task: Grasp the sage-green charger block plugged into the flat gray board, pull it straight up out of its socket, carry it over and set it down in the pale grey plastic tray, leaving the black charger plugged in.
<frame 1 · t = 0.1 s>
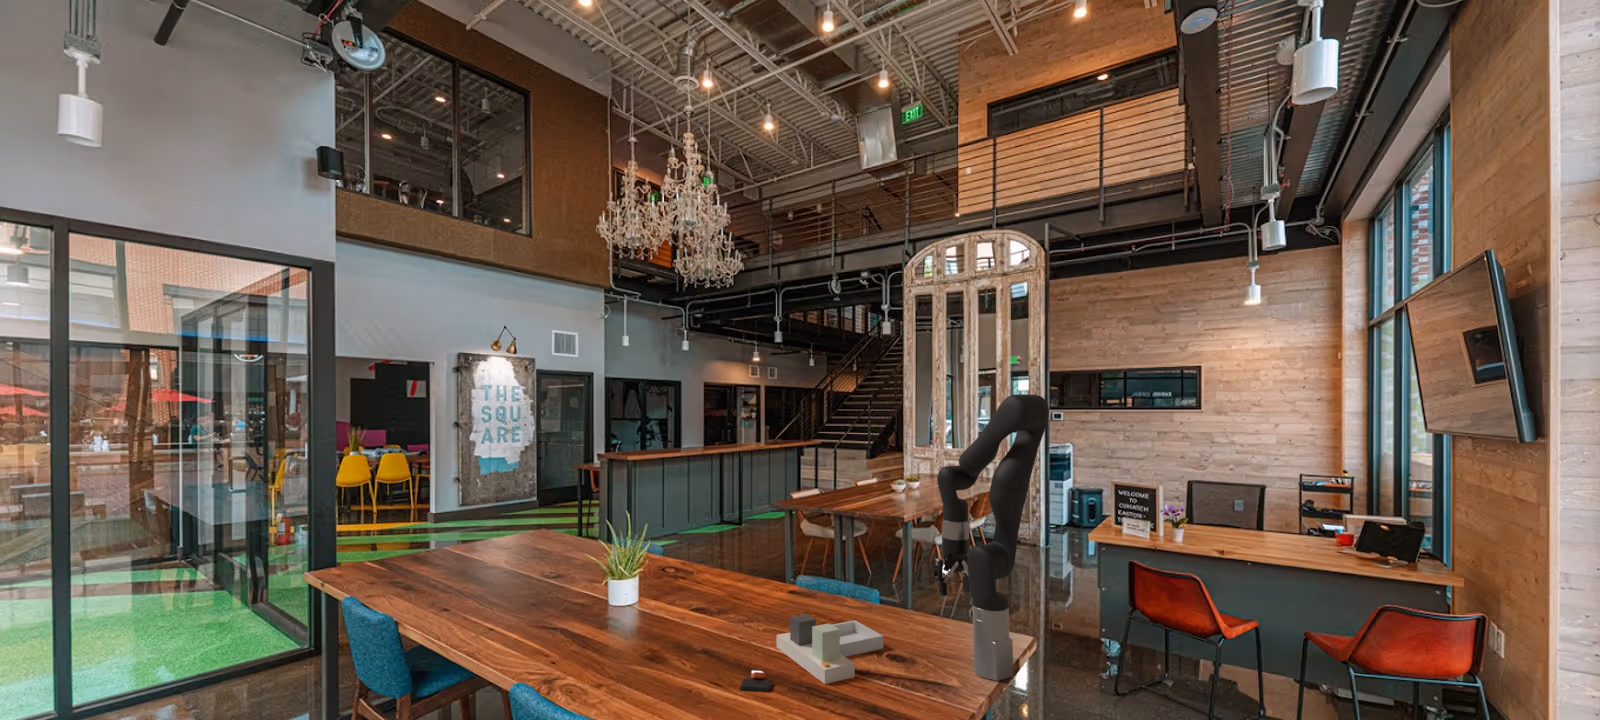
hand: (955, 593, 177), 17 cm above the table, tool pointing down, fingers open, 8 cm apart
flat gray board: (813, 661, 172), on the table
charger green: (826, 656, 166), point 3 cm above the table, touching flat gray board
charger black: (802, 641, 177), point 3 cm above the table, touching flat gray board
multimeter: (755, 678, 162), on the table
tray: (847, 644, 184), on the table
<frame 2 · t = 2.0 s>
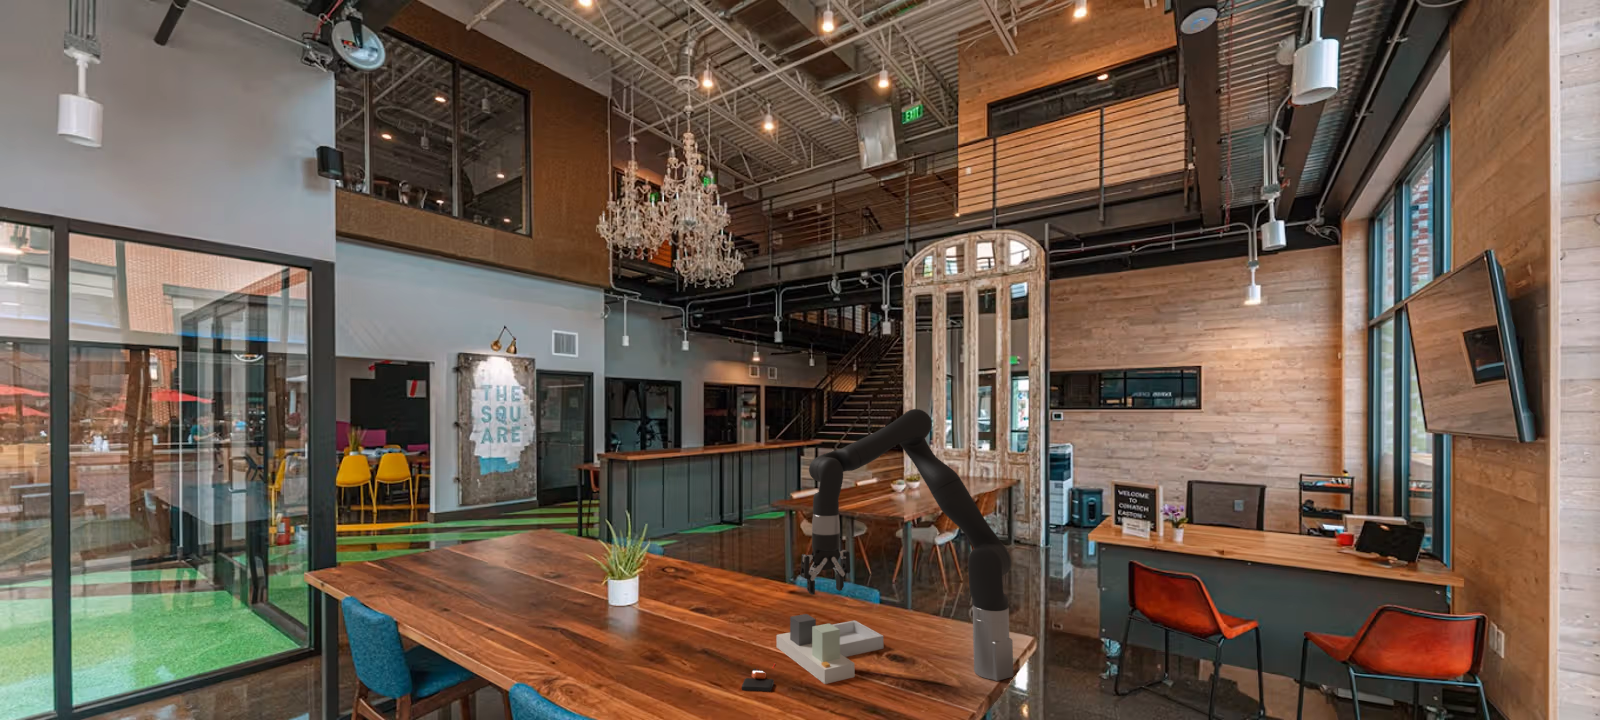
hand: (825, 591, 168), 20 cm above the table, tool pointing down, fingers open, 8 cm apart
nothing on the table moved.
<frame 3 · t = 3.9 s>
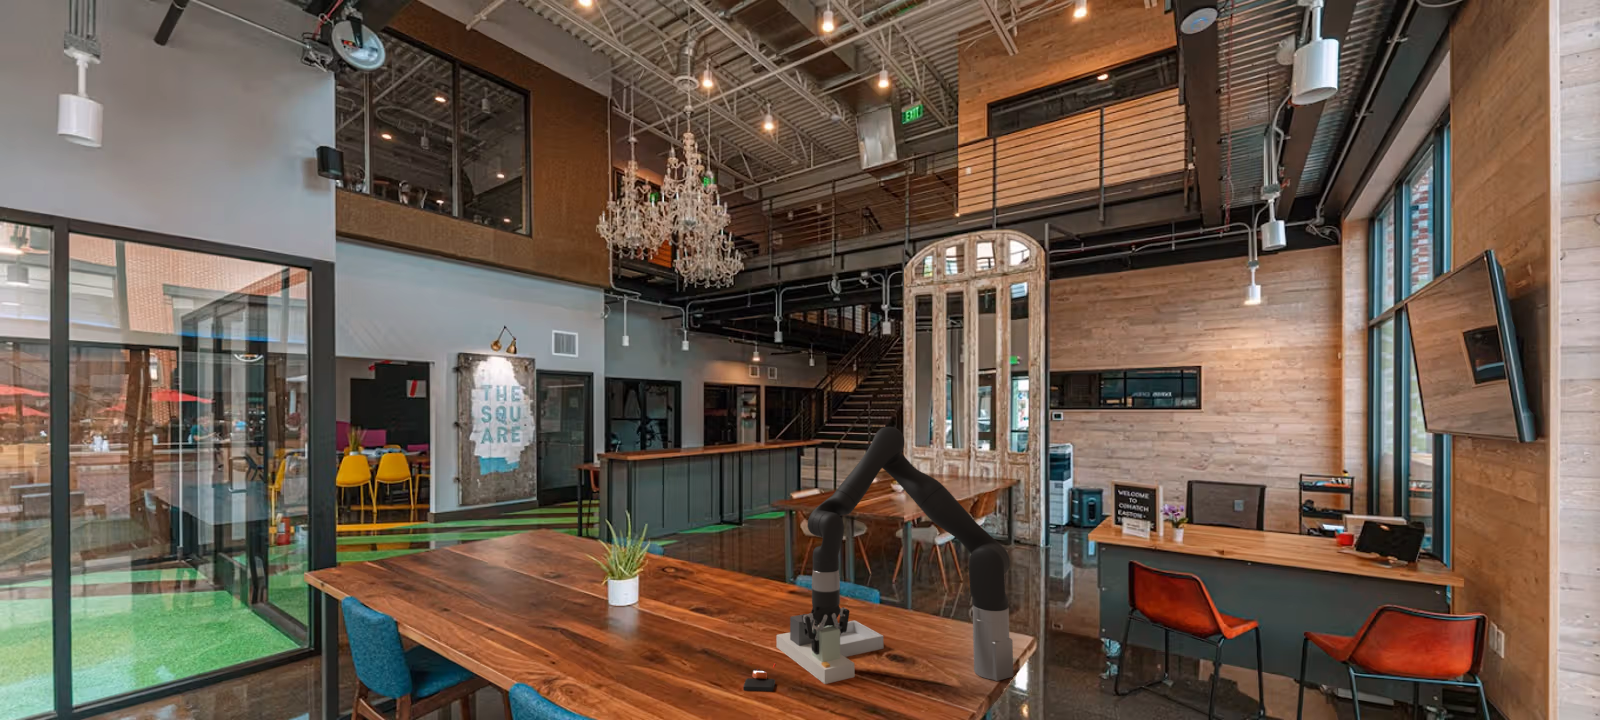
hand: (826, 651, 166), 5 cm above the table, tool pointing down, fingers closed on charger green, 5 cm apart
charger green: (826, 656, 166), point 4 cm above the table, touching gripper, flat gray board
everything else where it was.
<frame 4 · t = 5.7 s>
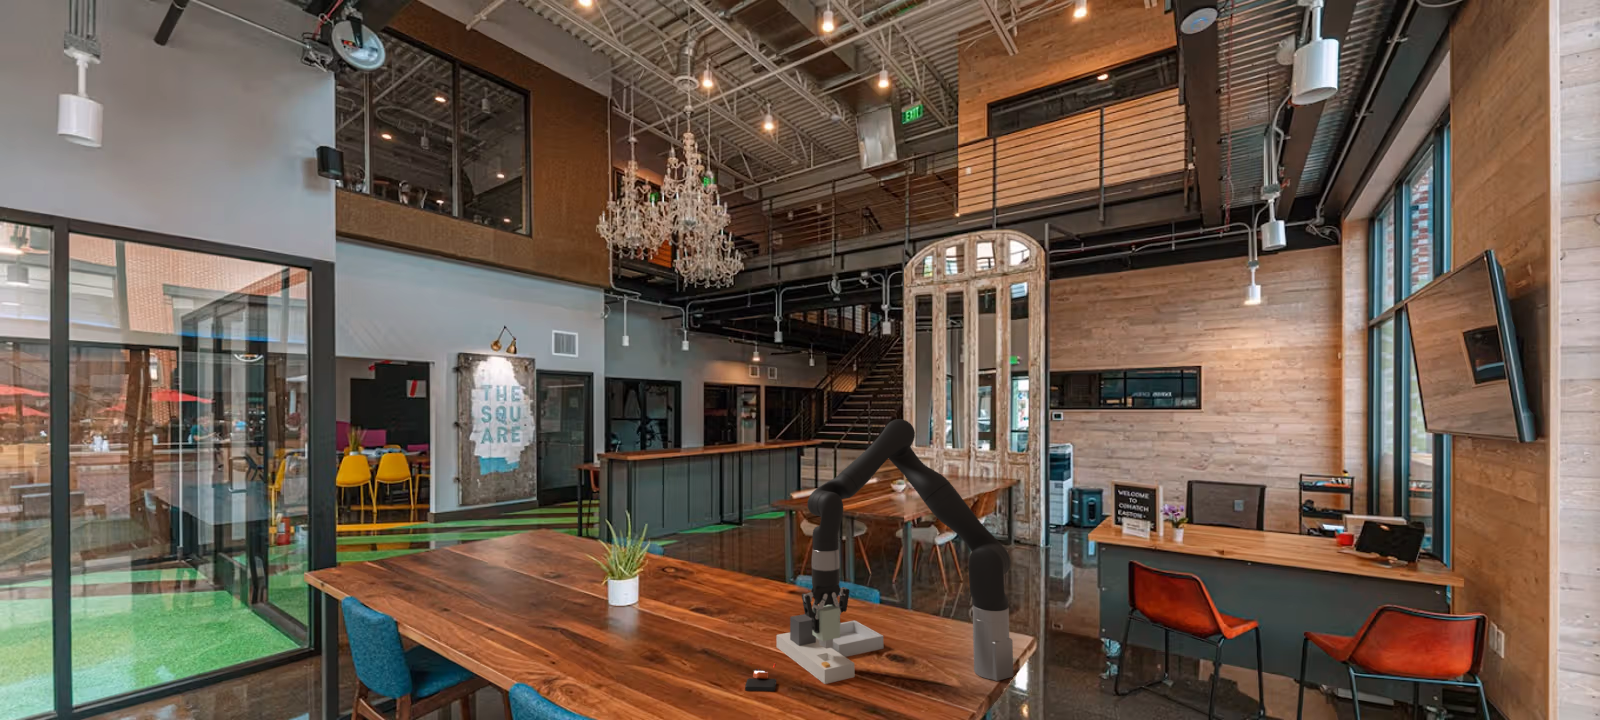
hand: (826, 630, 166), 10 cm above the table, tool pointing down, fingers closed on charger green, 5 cm apart
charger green: (826, 636, 166), point 9 cm above the table, touching gripper
everything else where it was.
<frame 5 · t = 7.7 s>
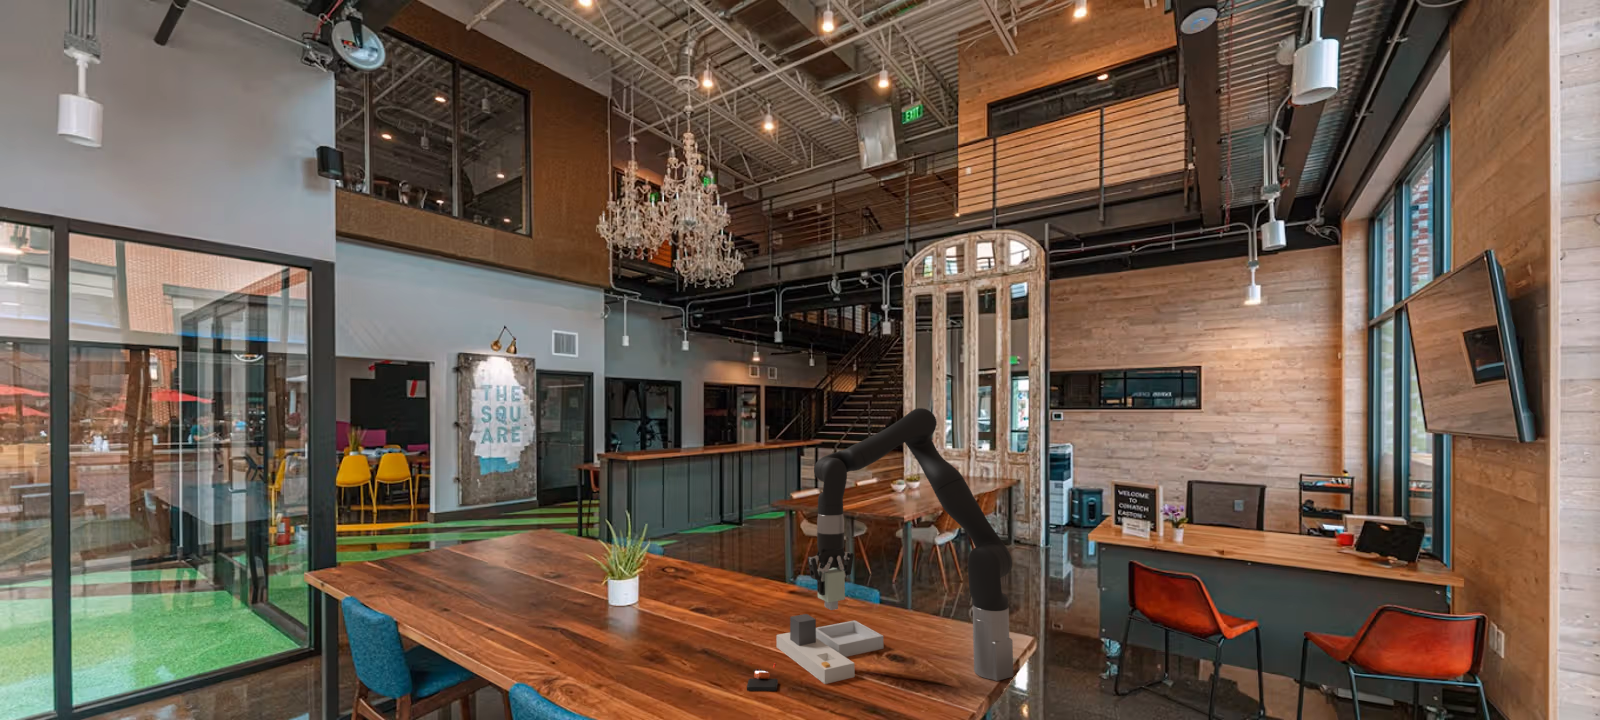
hand: (831, 592, 170), 19 cm above the table, tool pointing down, fingers closed on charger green, 5 cm apart
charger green: (831, 598, 170), point 18 cm above the table, touching gripper
everything else where it was.
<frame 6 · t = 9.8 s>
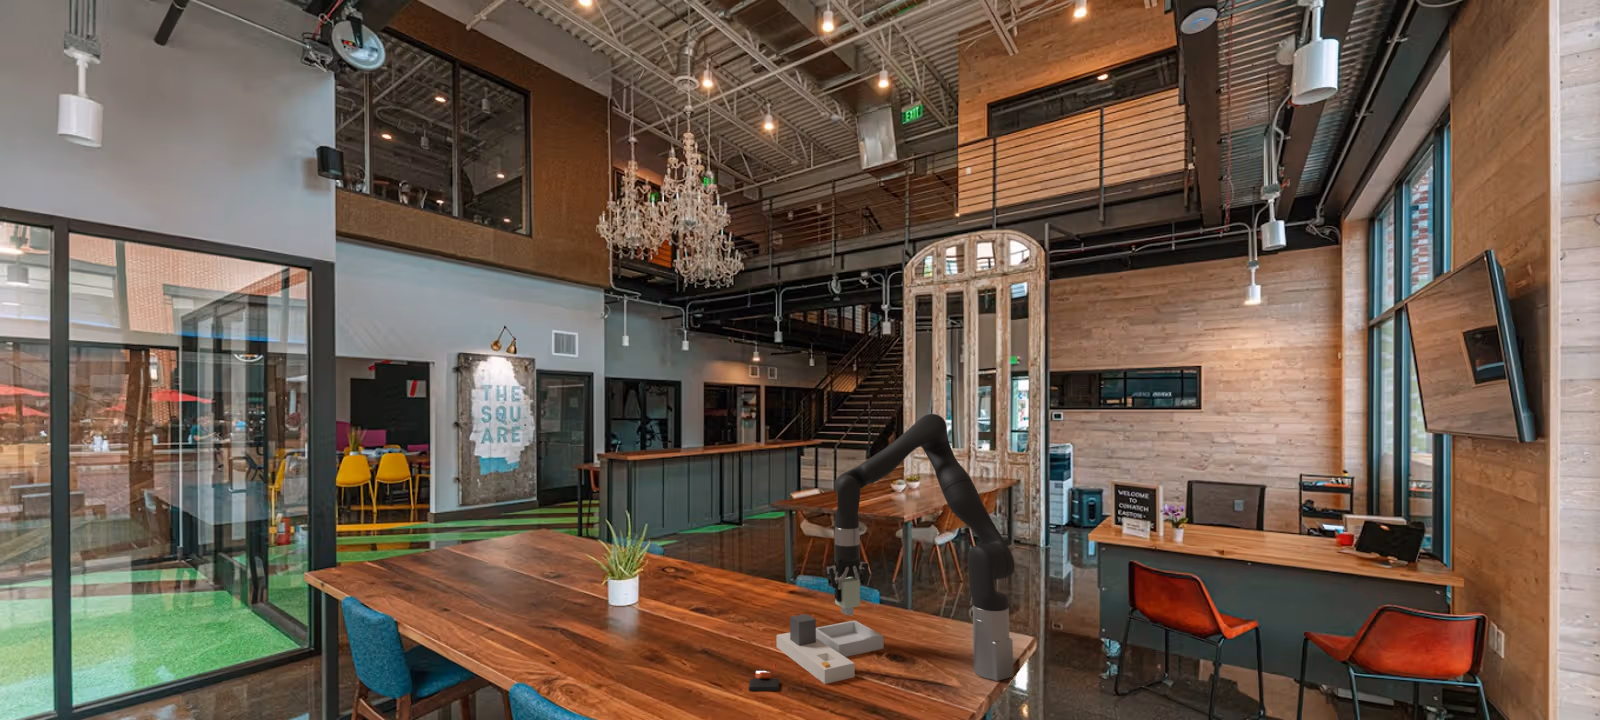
hand: (847, 599, 185), 13 cm above the table, tool pointing down, fingers closed on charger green, 5 cm apart
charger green: (847, 604, 185), point 11 cm above the table, touching gripper
when the fingers open (6 cm above the table, at t = 11.5 s): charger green drops 1 cm, resting on tray.
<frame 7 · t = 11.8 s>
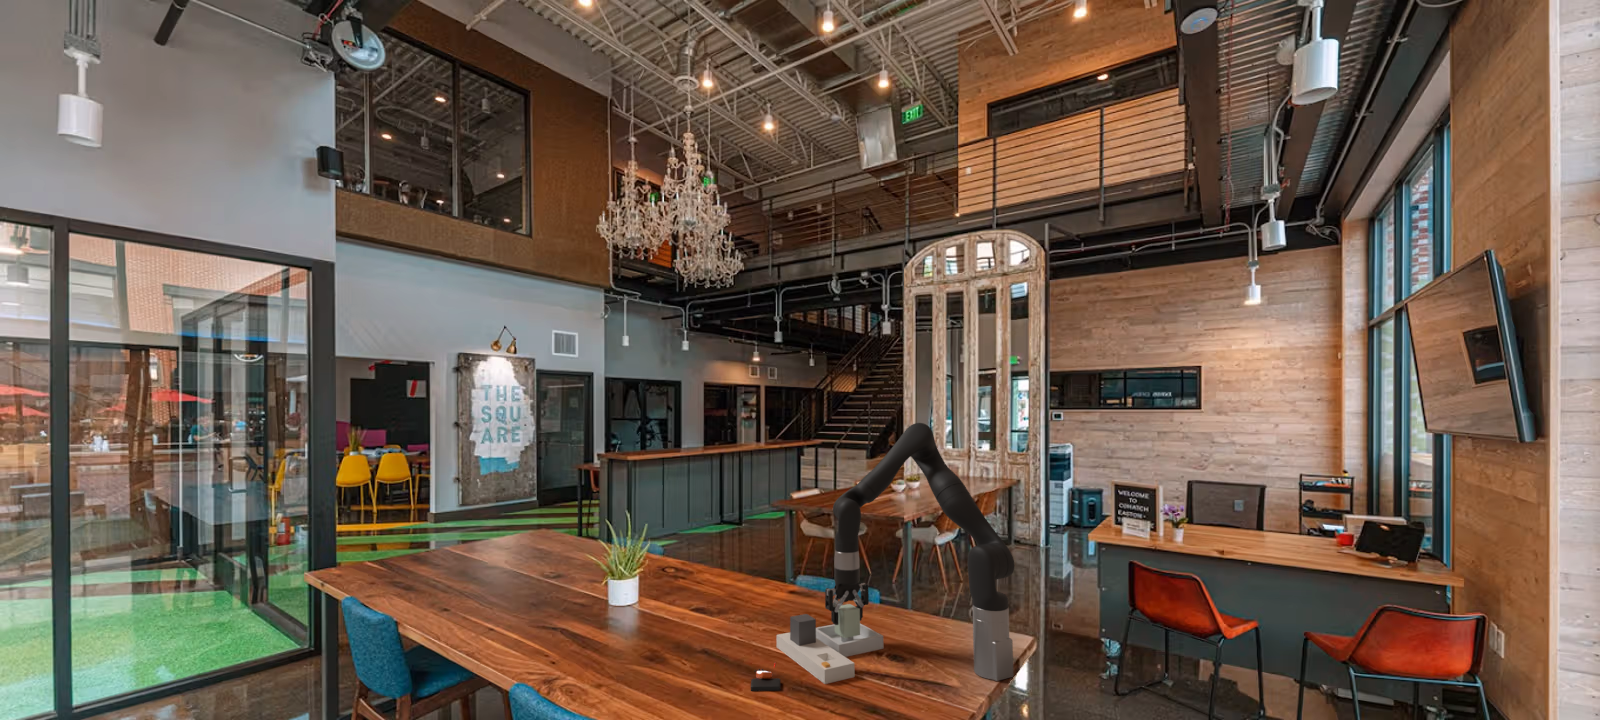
hand: (847, 622, 184), 6 cm above the table, tool pointing down, fingers open, 7 cm apart
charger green: (847, 633, 184), point 3 cm above the table, touching tray
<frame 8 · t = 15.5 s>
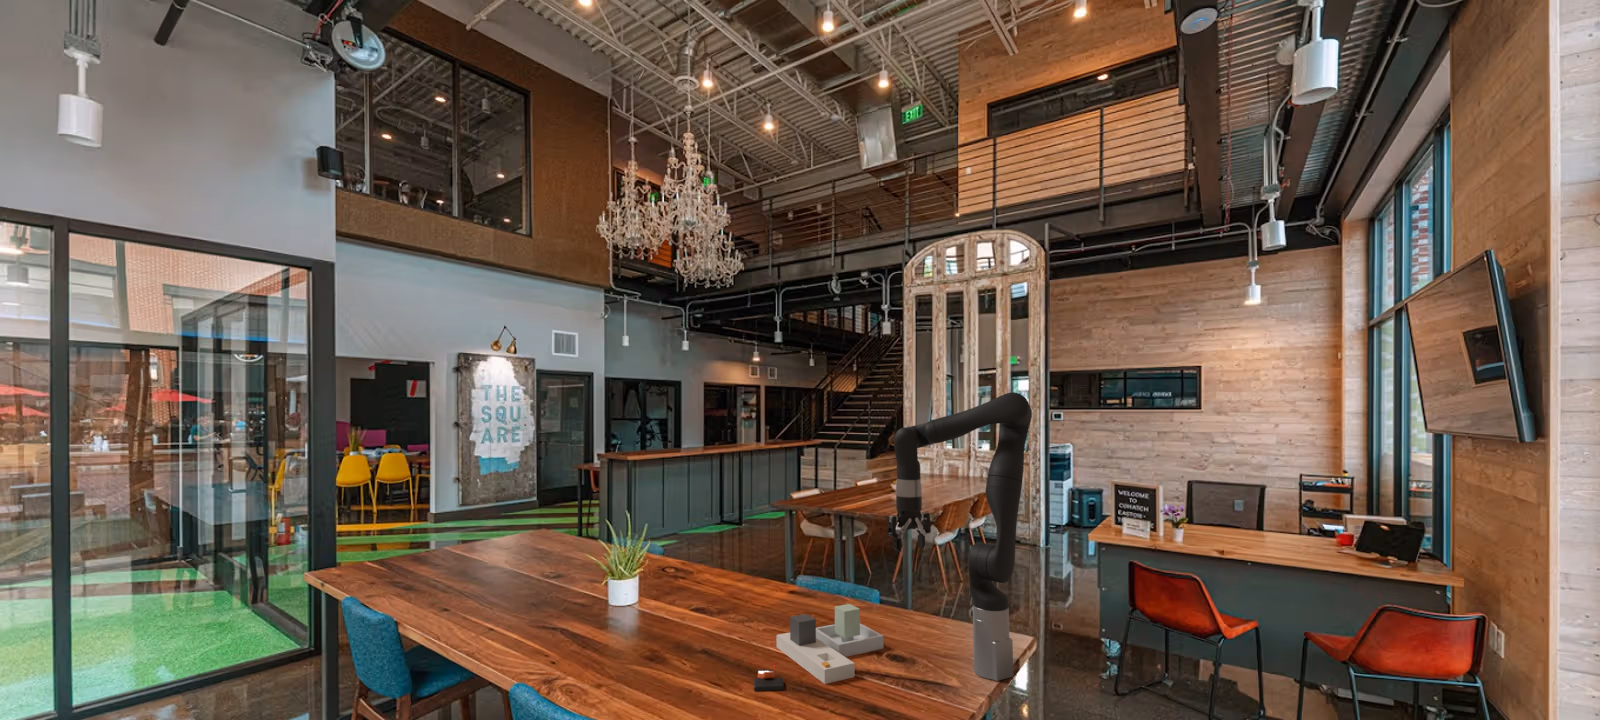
hand: (909, 549, 184), 28 cm above the table, tool pointing down, fingers open, 8 cm apart
at the end: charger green inside the target area on the tray (0.0 cm from its centre), point 3.1 cm above the tray's base; the gripper is holding nothing; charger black moved 0.1 cm from its start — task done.
